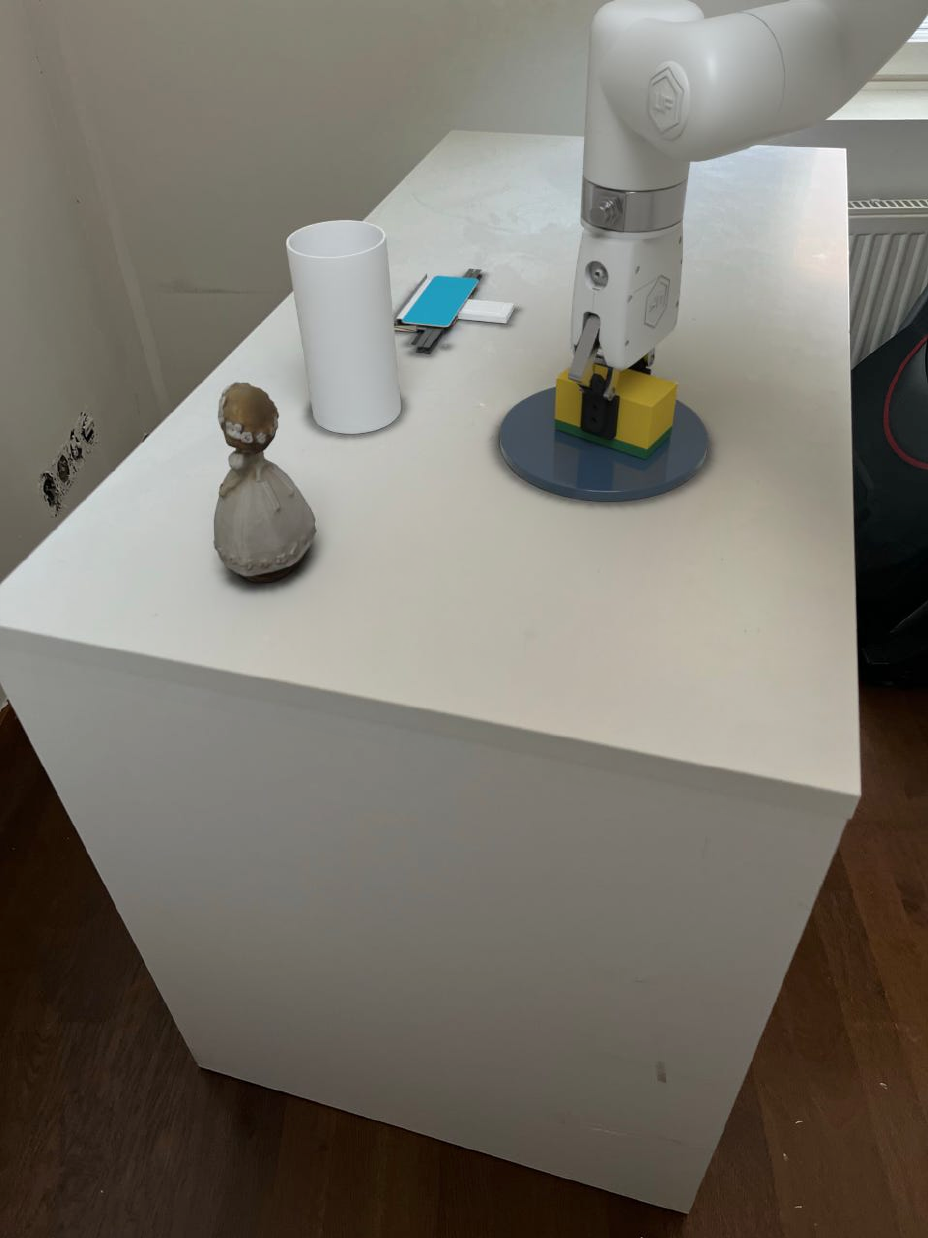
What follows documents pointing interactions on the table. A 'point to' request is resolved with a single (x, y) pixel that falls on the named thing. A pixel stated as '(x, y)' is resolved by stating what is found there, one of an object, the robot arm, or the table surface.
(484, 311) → the phone stand
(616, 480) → the plate
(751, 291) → the table surface
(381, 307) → the cup
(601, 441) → the sponge
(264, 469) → the figurine
